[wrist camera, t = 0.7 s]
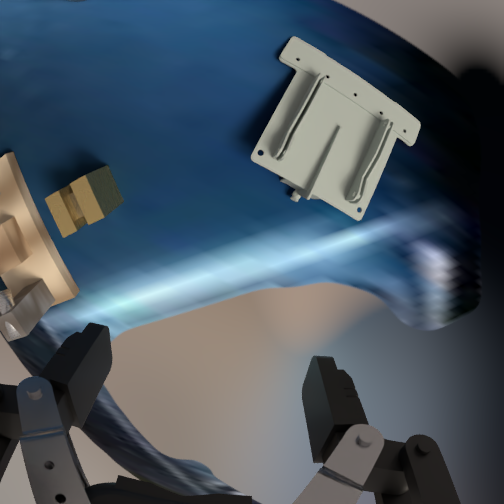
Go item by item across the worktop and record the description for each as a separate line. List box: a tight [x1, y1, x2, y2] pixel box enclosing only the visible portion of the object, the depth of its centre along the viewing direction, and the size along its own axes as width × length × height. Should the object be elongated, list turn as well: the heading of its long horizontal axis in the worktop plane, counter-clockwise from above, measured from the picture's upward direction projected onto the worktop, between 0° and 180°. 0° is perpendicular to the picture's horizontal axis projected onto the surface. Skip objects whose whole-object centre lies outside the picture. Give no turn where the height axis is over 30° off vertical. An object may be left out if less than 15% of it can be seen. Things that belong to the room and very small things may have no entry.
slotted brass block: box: [45, 165, 124, 238], centre depth 26 cm, size 5×4×5 cm
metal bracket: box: [251, 37, 421, 220], centre depth 27 cm, size 14×6×15 cm
